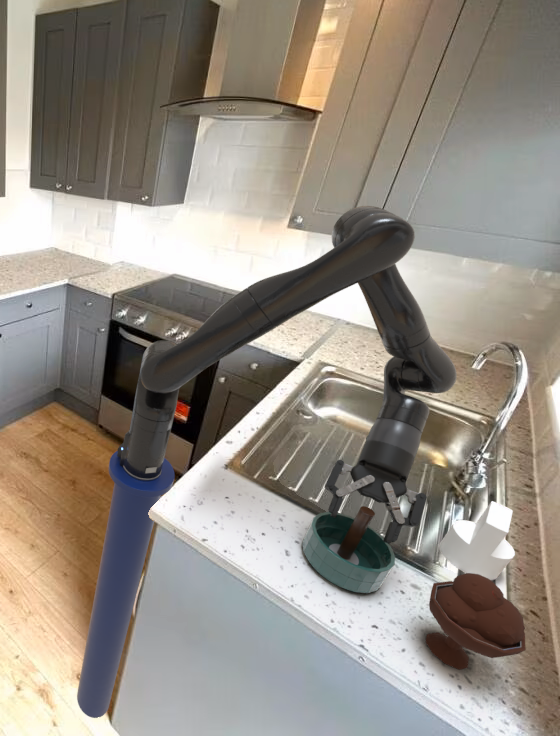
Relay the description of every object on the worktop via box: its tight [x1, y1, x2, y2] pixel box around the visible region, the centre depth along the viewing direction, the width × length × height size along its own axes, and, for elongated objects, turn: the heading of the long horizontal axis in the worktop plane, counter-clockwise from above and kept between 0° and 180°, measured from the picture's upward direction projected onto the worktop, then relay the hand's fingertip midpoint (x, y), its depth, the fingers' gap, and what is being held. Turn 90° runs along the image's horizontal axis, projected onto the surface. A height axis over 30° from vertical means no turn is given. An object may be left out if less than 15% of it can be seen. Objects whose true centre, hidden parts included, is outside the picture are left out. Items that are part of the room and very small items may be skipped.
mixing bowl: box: [301, 511, 396, 594], centre depth 81 cm, size 13×13×6 cm
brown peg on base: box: [329, 506, 376, 565], centre depth 79 cm, size 5×5×13 cm
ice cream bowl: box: [425, 573, 527, 670], centre depth 65 cm, size 11×11×15 cm
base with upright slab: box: [438, 500, 516, 581], centre depth 82 cm, size 9×9×12 cm
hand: (359, 529), depth 77 cm, fingers open, 8 cm apart
